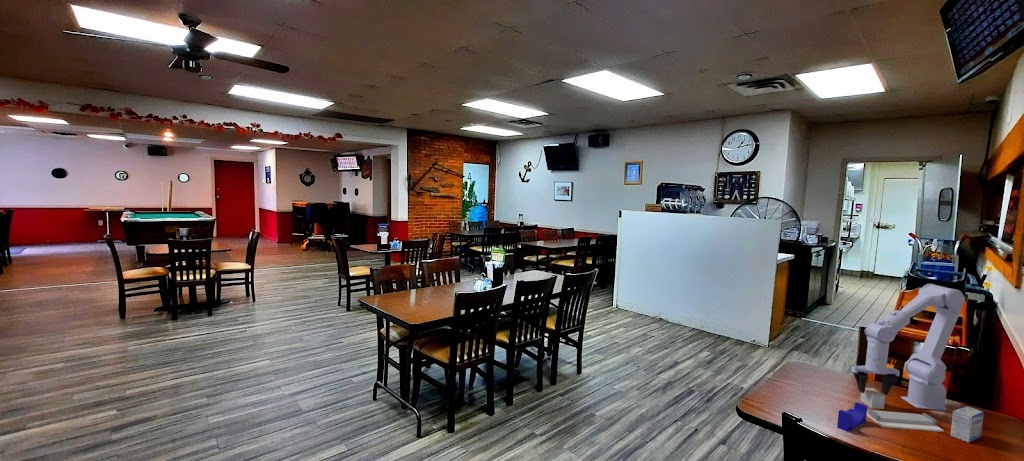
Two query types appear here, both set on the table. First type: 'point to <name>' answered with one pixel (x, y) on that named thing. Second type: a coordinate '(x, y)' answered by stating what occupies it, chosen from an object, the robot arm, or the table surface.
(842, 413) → the cable clip
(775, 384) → the table surface
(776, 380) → the table surface
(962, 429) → the medicine box
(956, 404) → the table surface
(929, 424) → the rail board
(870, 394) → the block
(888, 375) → the robot arm
